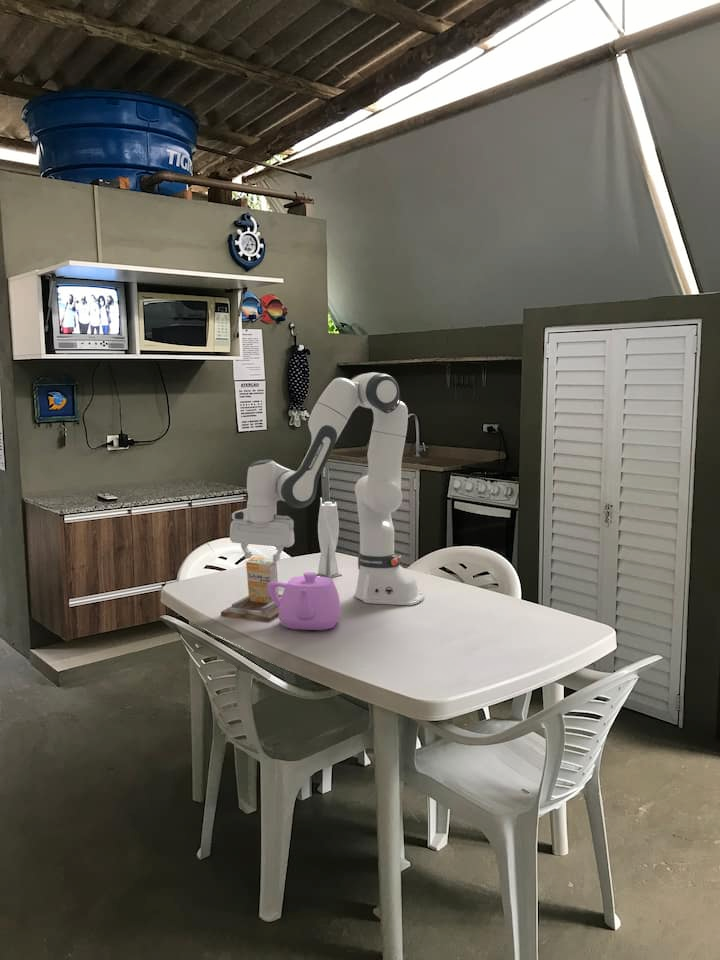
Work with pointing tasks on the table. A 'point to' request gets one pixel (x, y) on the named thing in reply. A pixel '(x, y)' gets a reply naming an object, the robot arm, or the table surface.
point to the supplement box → (261, 578)
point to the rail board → (253, 610)
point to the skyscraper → (328, 539)
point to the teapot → (307, 602)
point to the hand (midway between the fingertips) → (262, 559)
